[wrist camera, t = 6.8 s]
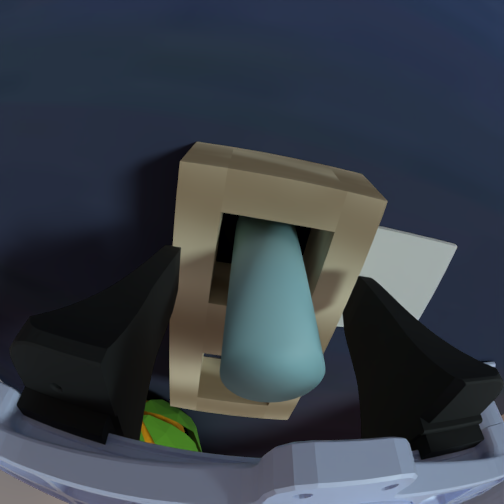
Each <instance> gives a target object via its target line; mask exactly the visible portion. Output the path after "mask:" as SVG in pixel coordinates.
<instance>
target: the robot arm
mask: <svg viewBox="0 0 504 504" xmlns="http://www.w3.org/2000/svg"><path fill="white" fill-rule="evenodd" d="M180 255H181V247H175V246H169V245H165V246H164V247H162V248H161V249H160V250H159V251H158V252H157V253H155V254H154V255H153V256H152V257H151V258H149V259H148V260H147V261H146V262H145V263H143V264H142V265H141V266H140V267H138V268H137V269H136V270H134V271H133V272H132V273H130V274H129V275H128V276H126V277H125V278H123V279H122V280H120V281H119V282H117V283H116V284H114V285H112V286H111V287H109V288H107V289H105V290H104V291H102V292H100V293H98V294H96V295H93V296H91V297H89V298H87V299H85V300H83V301H80V302H78V303H75V304H72V305H70V306H67V307H64V308H61V309H58V310H54V311H50V312H46V313H42V314H38V315H34V316H30V317H29V319H28V320H27V321H26V323H25V324H24V326H23V327H22V329H21V330H20V332H19V333H18V335H17V336H16V338H15V340H14V341H13V343H12V344H11V346H10V356H11V359H12V362H13V364H14V366H15V368H16V370H17V372H18V374H19V376H20V378H21V379H22V381H23V383H24V385H25V388H24V390H23V392H22V395H21V393H20V392H18V391H17V390H16V389H14V388H13V387H11V386H9V385H6V384H4V383H2V382H0V470H2V471H4V472H5V473H7V474H9V475H11V476H13V477H15V478H16V479H18V480H20V481H22V482H24V483H26V484H28V485H30V486H32V487H34V488H36V489H38V490H40V491H42V492H44V493H46V494H49V495H51V496H53V497H55V498H58V499H60V500H62V501H64V502H67V503H69V504H504V422H503V420H502V417H501V415H500V413H499V411H498V408H497V406H496V404H495V402H494V400H495V399H496V398H497V396H498V395H499V394H500V392H501V390H502V388H503V384H504V383H503V380H502V378H501V376H500V374H499V372H498V371H497V369H496V368H495V363H494V362H481V361H478V360H476V359H474V358H472V357H470V356H469V355H467V354H465V353H463V352H461V351H459V350H458V349H456V348H454V347H453V346H451V345H450V344H448V343H447V342H445V341H444V340H442V339H441V338H439V337H438V336H437V335H435V334H434V333H433V332H431V331H430V330H429V329H428V328H426V327H425V326H424V325H423V324H421V323H420V322H419V321H418V320H417V319H416V318H415V317H414V316H412V315H411V314H410V313H409V312H408V311H407V310H406V309H405V308H404V307H403V306H402V305H401V304H400V303H399V302H398V301H397V300H396V299H395V298H393V297H392V296H391V295H390V294H389V293H388V292H387V291H386V290H385V289H384V288H383V287H382V286H381V285H380V284H379V283H378V282H376V281H375V280H374V279H373V278H370V277H364V276H358V278H357V281H356V283H355V286H354V288H353V290H352V292H351V295H350V297H349V299H348V302H347V304H346V306H345V308H344V310H343V313H342V314H343V324H344V331H345V336H346V340H347V344H348V348H349V352H350V355H351V359H352V363H353V367H354V371H355V375H356V379H357V384H358V391H359V400H360V412H361V439H352V440H310V441H299V442H291V443H288V444H284V445H280V446H277V447H275V448H273V449H272V450H271V451H269V452H268V453H266V454H265V455H264V456H263V457H262V458H251V457H239V456H228V455H219V454H211V453H203V452H196V451H190V450H184V449H178V448H172V447H167V446H162V445H157V444H152V443H147V442H143V441H140V434H141V427H142V421H143V415H144V410H145V404H146V399H147V394H148V389H149V384H150V380H151V375H152V371H153V367H154V362H155V359H156V356H157V353H158V350H159V347H160V345H161V342H162V339H163V337H164V334H165V331H166V329H167V326H168V323H169V320H170V318H171V315H172V312H173V309H174V305H175V301H176V297H177V293H178V286H179V270H180Z"/></svg>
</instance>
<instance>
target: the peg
mask: <svg viewBox="0 0 504 504" xmlns="http://www.w3.org/2000/svg"><path fill="white" fill-rule="evenodd" d="M324 374H325V363H324V357H323V352H322V347H321V342H320V337H319V332H318V327H317V322H316V317H315V312H314V307H313V303H312V298H311V293H310V289H309V284H308V280H307V275H306V271H305V266H304V262H303V257H302V253H301V248H300V244H299V240H298V236H297V231H296V227H295V225H294V224H288V223H282V222H277V221H271V220H265V219H259V218H253V217H247V216H241V215H240V216H239V218H238V220H237V223H236V230H235V239H234V247H233V255H232V264H231V272H230V281H229V289H228V298H227V307H226V316H225V325H224V334H223V344H222V353H221V363H220V378H221V381H222V382H223V384H224V385H225V387H226V388H227V389H228V390H230V391H231V392H232V393H234V394H236V395H237V396H240V397H242V398H245V399H248V400H252V401H257V402H282V401H288V400H292V399H295V398H298V397H300V396H303V395H305V394H307V393H308V392H310V391H311V390H313V389H314V388H315V387H316V386H317V385H318V384H319V383H320V382H321V380H322V379H323V377H324Z"/></svg>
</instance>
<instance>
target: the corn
mask: <svg viewBox="0 0 504 504" xmlns="http://www.w3.org/2000/svg"><path fill="white" fill-rule="evenodd" d="M182 425H183V426H184V427H186V429H187V431H188V434H189V436H188V435H187V434H185V431H184V427H183V426H182ZM140 441H143V442H147V443H152V444H157V445H162V446H167V447H172V448H178V449H184V450H190V451H196V452H202V450H201V446H200V441H199V437H198V433H197V428H196V426H195V424H194V422H193V420H192V419H191V418H190V417H189V416H188V415H187V414H185V413H184V412H183V411H182V410H180V409H179V408H178V407H173V406H170V403H169V402H167V401H164V400H162V399H161V400H150V401H148V400H147V399H146V404H145V410H144V415H143V421H142V427H141V434H140Z"/></svg>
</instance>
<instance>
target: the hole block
mask: <svg viewBox="0 0 504 504" xmlns="http://www.w3.org/2000/svg"><path fill="white" fill-rule="evenodd" d="M387 202H388V201H387V200H386V199H385V198H384V197H383V196H382V195H381V194H380V192H379V191H378V190H377V189H376V188H375V187H374V186H373V185H372V184H371V183H370V182H369V181H368V180H367V179H366V178H365V177H364V176H363V175H362V174H360V173H356V172H352V171H348V170H344V169H340V168H335V167H331V166H327V165H323V164H318V163H314V162H309V161H304V160H300V159H295V158H290V157H285V156H280V155H275V154H270V153H264V152H259V151H253V150H247V149H241V148H235V147H229V146H223V145H216V144H209V143H202V142H196V143H195V144H194V145H193V146H192V148H191V149H190V150H189V151H188V152H187V153H186V155H185V156H184V157H183V158H182V159H181V161H180V166H179V175H178V185H177V196H176V208H175V220H174V234H173V246H175V247H181V255H180V270H179V286H178V293H177V297H176V301H175V305H174V309H173V312H172V315H171V318H170V337H169V369H170V406H173V407H179V408H185V409H191V410H197V411H203V412H210V413H218V414H225V415H234V416H243V417H253V418H265V419H280V420H288V418H289V417H290V415H291V413H292V411H293V410H294V408H295V406H296V404H297V402H298V401H299V399H300V397H301V396H300V397H298V398H295V399H292V400H288V401H282V402H257V401H252V400H248V399H245V398H242V397H240V396H237V395H236V394H234V393H232V392H231V391H230V390H228V389H227V388H226V387H225V385H224V384H223V382H222V381H221V378H220V363H221V359H217V358H211V357H204V353H207V354H214V355H221V353H222V344H223V334H224V325H225V316H226V307H227V298H228V289H229V281H230V272H231V264H230V263H224V262H218V261H216V258H217V251H218V245H219V238H220V231H221V225H222V218H223V213H229V214H235V215H241V216H247V217H253V218H259V219H265V220H271V221H277V222H282V223H288V224H294V225H299V226H305V227H310V228H311V230H310V234H309V237H308V240H307V244H306V247H305V250H304V254H303V262H304V266H305V271H306V275H307V280H308V284H309V289H310V293H311V298H312V303H313V307H314V312H315V317H316V322H317V327H318V332H319V337H320V342H321V347H322V352H323V353H324V351H325V349H326V347H327V345H328V343H329V341H330V339H331V337H332V335H333V332H334V330H335V328H336V326H337V324H338V322H339V320H340V318H341V315H342V313H343V310H344V308H345V306H346V304H347V302H348V299H349V297H350V295H351V292H352V290H353V288H354V286H355V283H356V281H357V278H358V276H359V274H360V272H361V270H362V267H363V265H364V262H365V260H366V257H367V255H368V252H369V250H370V247H371V245H372V242H373V240H374V237H375V234H376V232H377V229H378V226H379V224H380V221H381V218H382V216H383V213H384V210H385V207H386V204H387Z"/></svg>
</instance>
